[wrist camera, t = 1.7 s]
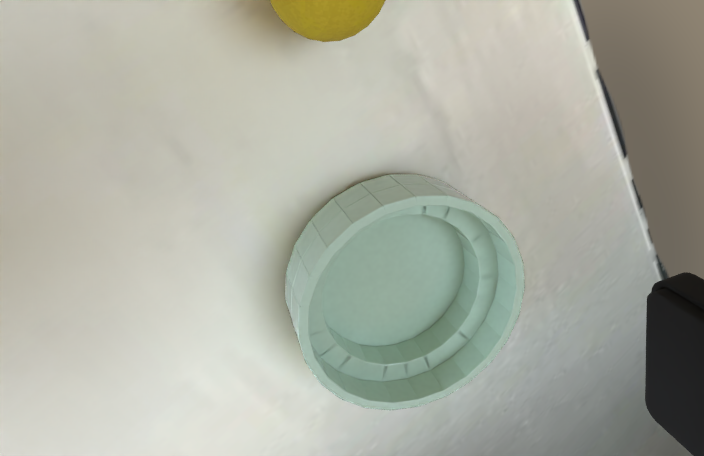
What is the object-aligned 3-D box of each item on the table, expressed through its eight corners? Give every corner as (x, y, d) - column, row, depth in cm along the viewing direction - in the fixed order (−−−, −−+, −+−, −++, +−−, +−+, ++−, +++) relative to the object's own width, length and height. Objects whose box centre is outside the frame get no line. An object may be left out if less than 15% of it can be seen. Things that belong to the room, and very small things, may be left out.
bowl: (242, 320, 34) (251, 366, 30) (362, 129, 32) (390, 148, 28) (410, 388, 40) (438, 435, 36) (521, 231, 38) (566, 260, 34)
